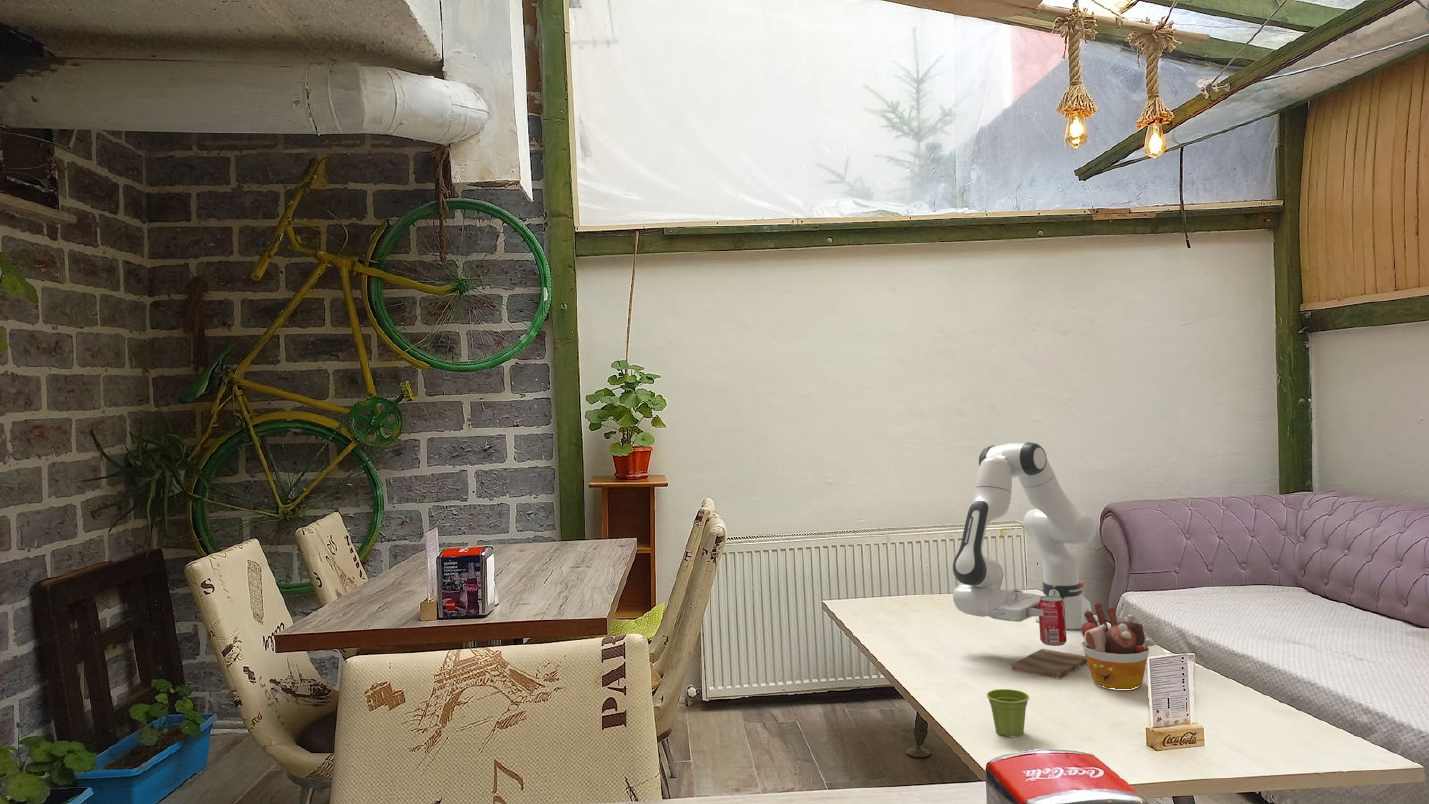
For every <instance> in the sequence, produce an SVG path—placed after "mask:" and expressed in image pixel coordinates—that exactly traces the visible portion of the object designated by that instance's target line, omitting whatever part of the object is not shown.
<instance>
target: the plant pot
mask: <svg viewBox="0 0 1429 804" xmlns="http://www.w3.org/2000/svg"><path fill="white" fill-rule="evenodd" d="M986 698H988V702H989V704H990V707H991V713H992V718H993V723H994V730H995V732H996V733H997V734H998V735H1000V736H1005V737H1007V736H1018V737H1021V735H1023V734H1024V732H1025V722H1026V721H1025V720H1026V709H1027V705H1028V701H1029V700H1030V695H1029V694H1028V693H1026V692H1024V691H1021V690H1016V689H1009V688H999V689H993V690H989V691H988V692H986Z"/></svg>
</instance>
